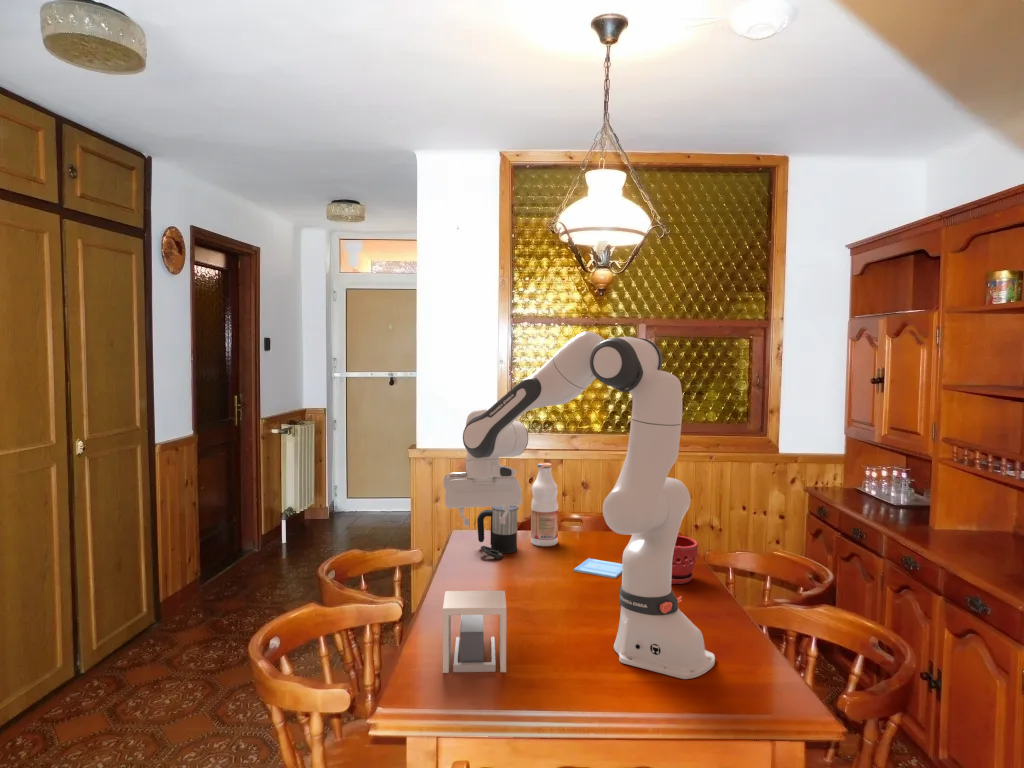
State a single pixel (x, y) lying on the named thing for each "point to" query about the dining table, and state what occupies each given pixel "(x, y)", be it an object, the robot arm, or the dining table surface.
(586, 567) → the light blue flat slab
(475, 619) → the grey block
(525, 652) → the dining table surface
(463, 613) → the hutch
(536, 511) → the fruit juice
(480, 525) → the milk frother
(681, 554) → the plant pot
